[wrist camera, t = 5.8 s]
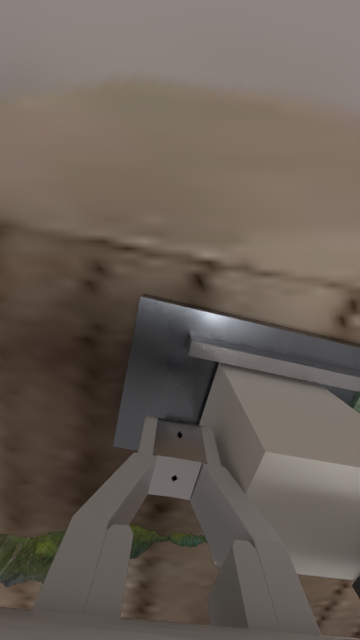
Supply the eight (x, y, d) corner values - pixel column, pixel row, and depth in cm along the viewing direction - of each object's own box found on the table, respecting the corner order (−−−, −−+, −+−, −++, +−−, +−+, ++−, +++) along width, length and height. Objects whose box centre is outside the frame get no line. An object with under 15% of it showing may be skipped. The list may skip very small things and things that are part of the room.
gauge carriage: (409, 397, 10) (668, 531, 5) (364, 466, 12) (529, 631, 6) (221, 356, 9) (283, 467, 4) (195, 437, 11) (215, 602, 5)
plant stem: (-21, 515, 15) (-60, 563, 12) (269, 477, 14) (289, 518, 12) (8, 561, 16) (-22, 611, 14) (270, 527, 16) (288, 573, 13)
